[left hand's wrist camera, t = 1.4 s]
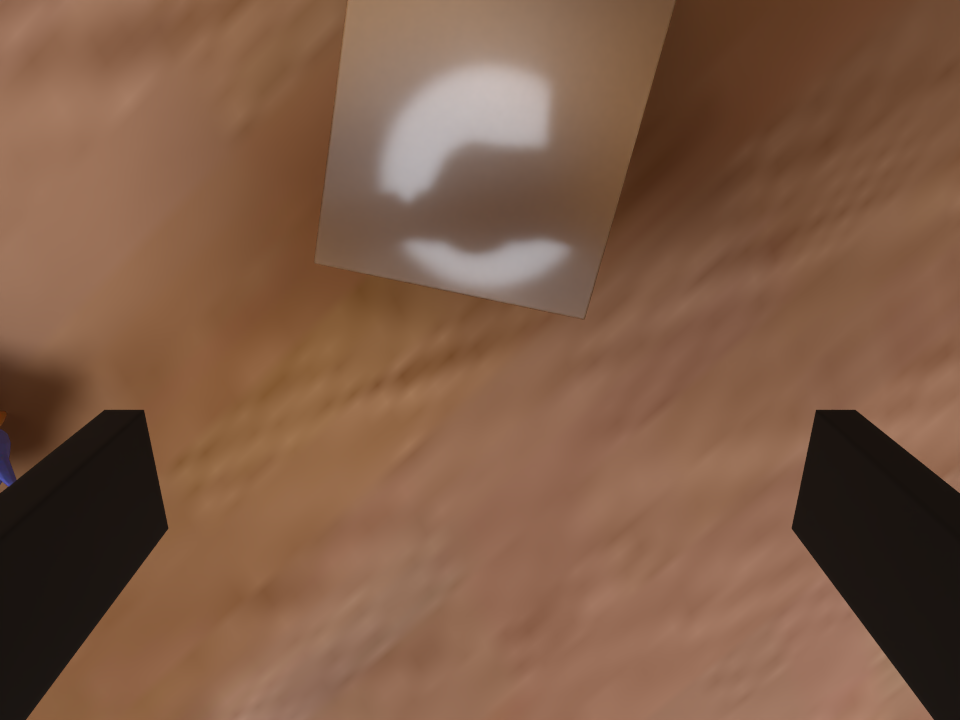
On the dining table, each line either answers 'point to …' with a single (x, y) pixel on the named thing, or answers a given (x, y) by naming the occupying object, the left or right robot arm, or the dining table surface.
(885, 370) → the dining table surface
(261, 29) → the dining table surface
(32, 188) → the dining table surface
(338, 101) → the slab
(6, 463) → the toy
